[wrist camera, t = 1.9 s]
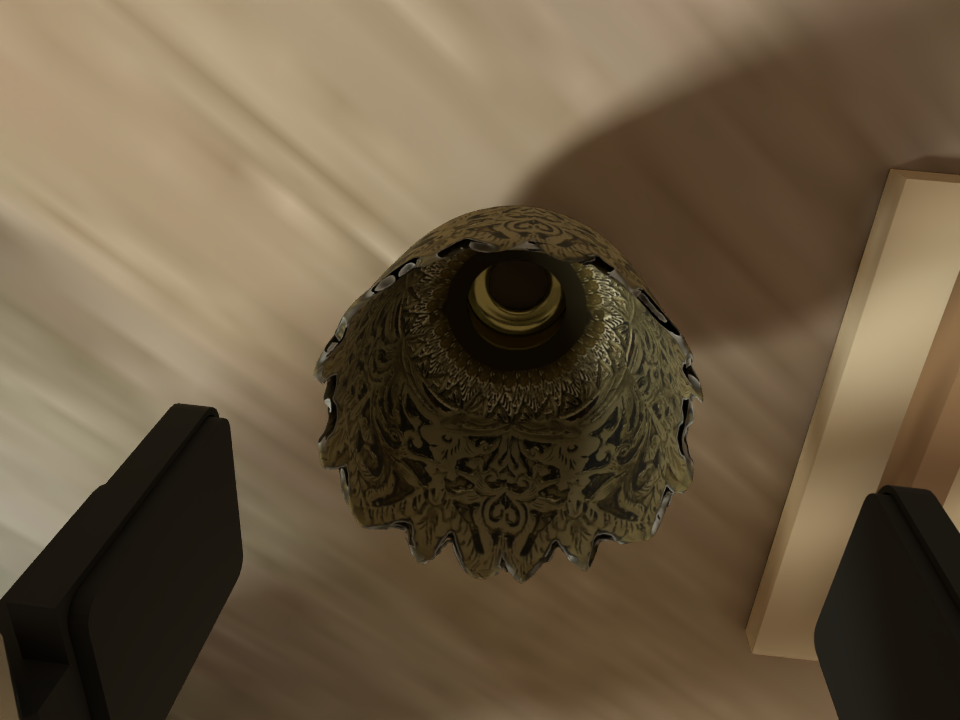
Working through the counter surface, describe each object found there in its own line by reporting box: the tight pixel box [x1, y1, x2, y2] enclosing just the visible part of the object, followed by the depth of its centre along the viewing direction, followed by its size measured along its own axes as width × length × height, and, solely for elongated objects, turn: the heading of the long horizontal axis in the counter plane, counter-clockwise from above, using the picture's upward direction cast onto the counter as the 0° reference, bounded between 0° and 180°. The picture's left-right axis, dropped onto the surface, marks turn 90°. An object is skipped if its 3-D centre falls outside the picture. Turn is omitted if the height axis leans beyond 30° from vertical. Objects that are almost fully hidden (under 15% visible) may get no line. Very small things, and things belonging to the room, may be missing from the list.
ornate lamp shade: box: [314, 206, 703, 583], centre depth 18 cm, size 8×7×8 cm
